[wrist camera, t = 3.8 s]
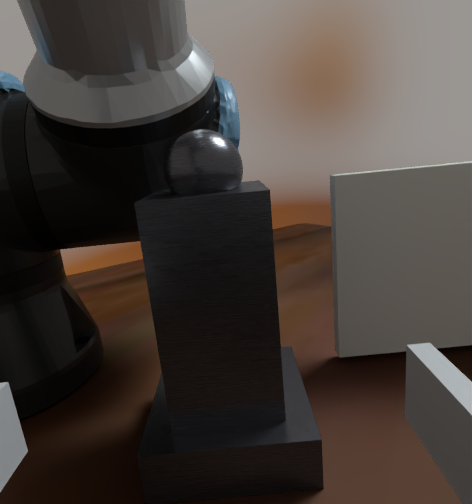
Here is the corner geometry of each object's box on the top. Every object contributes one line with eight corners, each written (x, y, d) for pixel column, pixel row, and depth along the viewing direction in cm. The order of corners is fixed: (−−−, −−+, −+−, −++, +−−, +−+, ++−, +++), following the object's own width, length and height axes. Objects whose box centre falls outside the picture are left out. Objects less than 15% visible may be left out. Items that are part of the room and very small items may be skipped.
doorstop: (145, 505, 19) (72, 133, 14) (172, 394, 28) (131, 141, 23) (323, 489, 19) (307, 110, 14) (293, 382, 27) (277, 127, 23)
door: (526, 321, 32) (546, 152, 28) (554, 337, 29) (579, 152, 25) (329, 340, 32) (324, 173, 28) (339, 357, 29) (334, 175, 26)
